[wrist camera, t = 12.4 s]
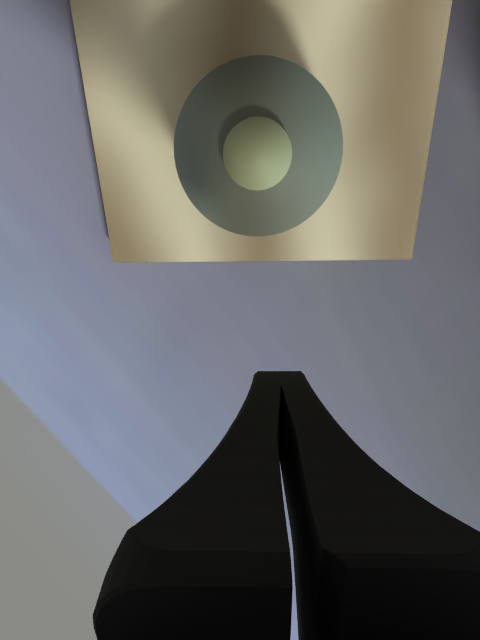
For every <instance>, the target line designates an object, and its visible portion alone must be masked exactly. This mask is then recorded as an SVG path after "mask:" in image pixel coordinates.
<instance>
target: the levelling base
mask: <svg viewBox="0 0 480 640" xmlns="http://www.w3.org/2000/svg"><path fill="white" fill-rule="evenodd" d="M70 6H71V12H72V18H73V24H74V30H75V36H76V42H77V48H78V54H79V60H80V66H81V72H82V78H83V84H84V90H85V96H86V102H87V108H88V114H89V120H90V126H91V132H92V138H93V144H94V150H95V156H96V162H97V168H98V174H99V180H100V186H101V192H102V198H103V204H104V210H105V216H106V222H107V228H108V234H109V240H110V246H111V252H112V258H113V262H200V261H301V260H402V259H412V254H413V248H414V241H415V235H416V229H417V222H418V216H419V210H420V203H421V197H422V190H423V184H424V178H425V171H426V165H427V159H428V152H429V146H430V140H431V133H432V127H433V121H434V114H435V108H436V102H437V95H438V89H439V82H440V76H441V70H442V63H443V57H444V51H445V44H446V38H447V32H448V25H449V19H450V13H451V6H452V0H70Z"/></svg>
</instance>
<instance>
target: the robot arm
mask: <svg viewBox="0 0 480 640" xmlns="http://www.w3.org/2000/svg"><path fill="white" fill-rule="evenodd" d="M279 462H280V463H279ZM280 465H281V471H282V478H283V484H284V490H285V496H286V503H287V509H288V515H289V521H290V528H291V535H292V544H293V556H294V571H295V586H296V602H297V619H298V636H299V640H480V532H479V531H477V530H475V529H474V528H472V527H470V526H468V525H467V524H465V523H463V522H461V521H460V520H458V519H456V518H454V517H453V516H451V515H449V514H447V513H446V512H444V511H442V510H440V509H439V508H437V507H436V506H434V505H432V504H431V503H429V502H428V501H426V500H425V499H423V498H422V497H420V496H419V495H417V494H416V493H414V492H413V491H412V490H410V489H409V488H407V487H406V486H405V485H403V484H402V483H401V482H399V481H398V480H397V479H396V478H394V477H393V476H392V475H390V474H389V473H388V472H387V471H385V470H384V469H383V468H381V467H380V466H379V465H378V464H377V463H376V462H375V461H373V460H372V459H371V458H370V457H369V456H368V455H367V454H366V453H365V452H364V451H363V450H362V449H361V448H360V447H359V446H358V445H357V444H356V443H355V442H354V441H353V440H352V439H351V438H350V437H349V436H348V435H347V433H346V432H345V431H344V430H343V429H342V428H341V427H340V426H339V424H338V423H337V422H336V421H335V419H334V418H333V417H332V416H331V414H330V413H329V412H328V410H327V409H326V408H325V407H324V405H323V404H322V402H321V401H320V400H319V398H318V397H317V395H316V394H315V392H314V391H313V389H312V388H311V386H310V384H309V383H308V381H307V379H306V377H305V375H304V374H303V373H302V372H301V371H258V372H257V373H255V374H254V378H253V382H252V385H251V388H250V390H249V393H248V395H247V397H246V400H245V402H244V404H243V406H242V408H241V409H240V411H239V413H238V415H237V417H236V419H235V420H234V422H233V424H232V425H231V427H230V428H229V430H228V432H227V433H226V435H225V436H224V438H223V439H222V441H221V442H220V443H219V445H218V446H217V447H216V449H215V450H214V451H213V453H212V454H211V455H210V456H209V458H208V459H207V460H206V461H205V462H204V463H203V464H202V466H201V467H200V468H199V469H198V470H197V471H196V472H195V473H194V475H193V476H192V477H191V478H190V479H189V480H188V481H187V482H186V483H185V484H184V485H182V486H181V487H180V488H179V489H178V490H177V491H176V492H175V493H174V494H173V495H172V496H171V497H169V498H168V499H167V500H166V501H165V502H164V503H163V504H162V505H160V506H159V507H158V508H157V509H155V510H154V511H153V512H152V513H150V514H149V515H148V516H146V517H145V518H144V519H142V520H141V521H140V522H138V523H137V524H136V525H135V526H133V527H131V528H130V529H129V530H127V532H126V534H125V535H124V537H123V539H122V541H121V543H120V545H119V547H118V549H117V551H116V553H115V555H114V557H113V559H112V561H111V564H110V566H109V568H108V571H107V573H106V575H105V578H104V581H103V584H102V587H101V591H100V594H99V597H98V600H97V604H96V607H95V610H94V613H93V624H94V629H95V633H96V636H97V640H290V634H291V611H292V571H291V557H290V548H289V541H288V534H287V526H286V518H285V511H284V502H283V493H282V484H281V473H280Z"/></svg>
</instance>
